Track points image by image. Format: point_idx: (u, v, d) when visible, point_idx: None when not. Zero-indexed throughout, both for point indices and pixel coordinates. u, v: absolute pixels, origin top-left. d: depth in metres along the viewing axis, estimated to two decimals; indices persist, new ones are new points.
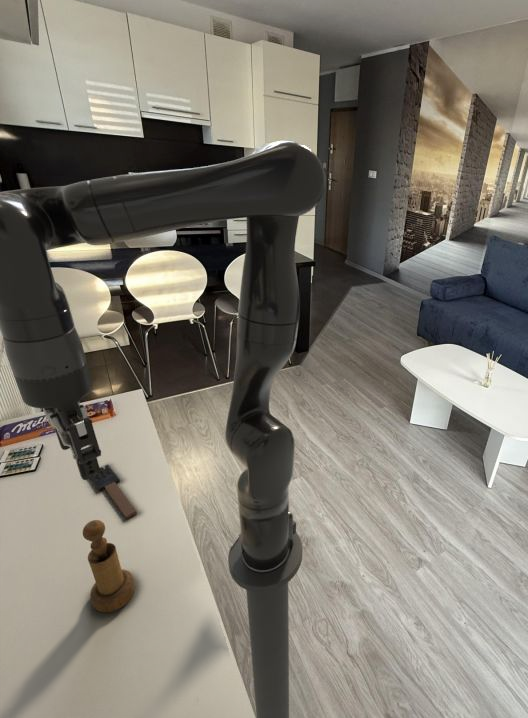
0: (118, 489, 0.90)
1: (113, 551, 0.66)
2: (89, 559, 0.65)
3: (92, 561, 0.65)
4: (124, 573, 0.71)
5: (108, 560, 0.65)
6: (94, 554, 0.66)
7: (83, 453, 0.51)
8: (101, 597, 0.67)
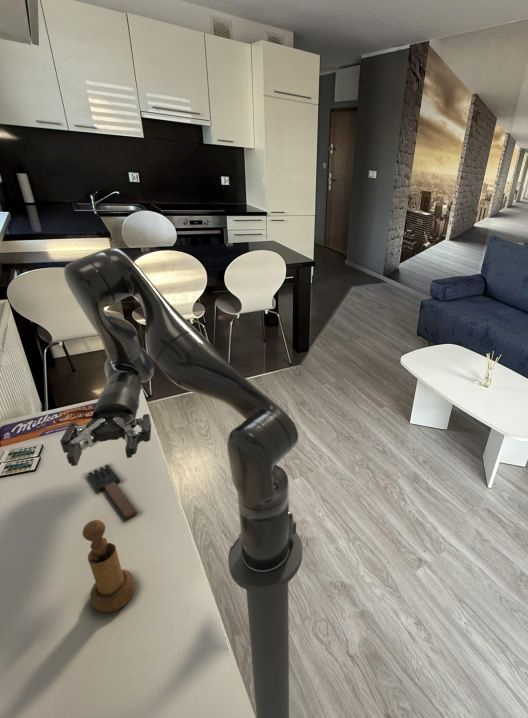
0: (118, 489, 0.90)
1: (113, 551, 0.66)
2: (89, 559, 0.65)
3: (92, 561, 0.65)
4: (124, 573, 0.71)
5: (108, 560, 0.65)
6: (94, 554, 0.66)
7: None
8: (101, 597, 0.67)
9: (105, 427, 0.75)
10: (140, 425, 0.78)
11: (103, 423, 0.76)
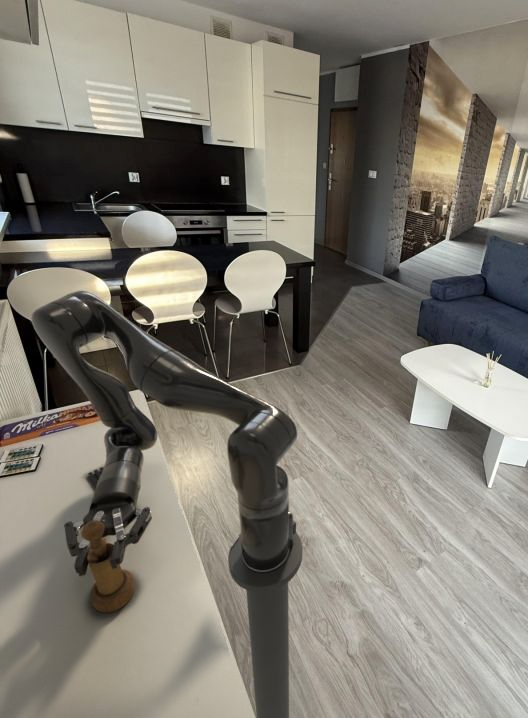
0: None
1: None
2: (89, 559, 0.65)
3: (92, 561, 0.64)
4: (124, 573, 0.71)
5: (108, 560, 0.65)
6: (94, 554, 0.66)
7: None
8: (101, 597, 0.67)
9: (104, 522, 0.70)
10: None
11: (102, 517, 0.70)
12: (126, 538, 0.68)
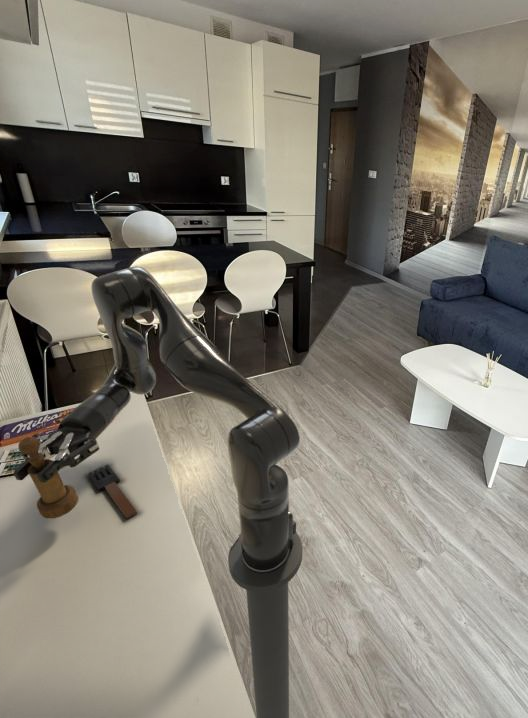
0: (118, 489, 0.90)
1: None
2: (29, 468, 0.75)
3: (30, 471, 0.75)
4: (68, 490, 0.81)
5: None
6: None
7: None
8: (41, 504, 0.78)
9: (58, 441, 0.80)
10: None
11: (58, 437, 0.80)
12: (62, 460, 0.76)
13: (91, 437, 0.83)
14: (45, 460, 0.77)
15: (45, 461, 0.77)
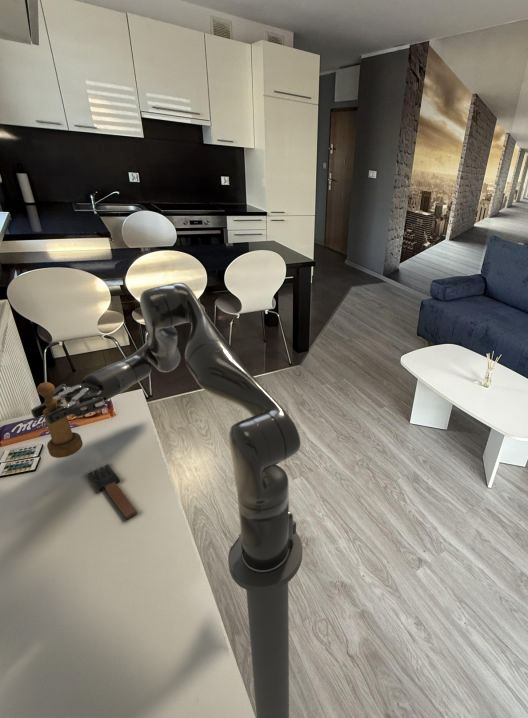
0: (118, 489, 0.90)
1: None
2: (45, 410, 0.88)
3: (45, 412, 0.88)
4: (74, 437, 0.93)
5: None
6: None
7: None
8: (50, 443, 0.90)
9: (75, 393, 0.93)
10: None
11: (77, 389, 0.93)
12: (70, 408, 0.88)
13: (102, 395, 0.95)
14: (59, 406, 0.90)
15: (59, 407, 0.90)
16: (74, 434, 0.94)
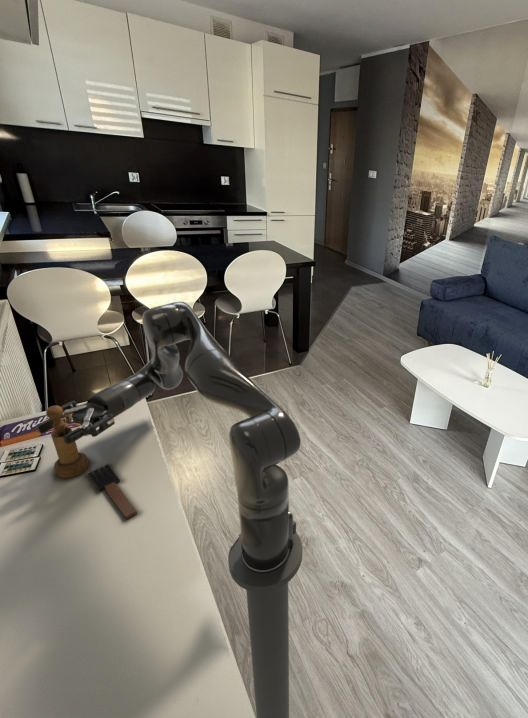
0: (118, 489, 0.90)
1: None
2: (53, 431, 0.91)
3: (53, 434, 0.91)
4: (81, 457, 0.96)
5: (58, 438, 0.90)
6: None
7: None
8: (57, 463, 0.93)
9: (81, 413, 0.95)
10: None
11: (82, 409, 0.96)
12: (88, 428, 0.91)
13: (107, 415, 0.97)
14: (67, 428, 0.93)
15: (67, 428, 0.93)
16: (80, 454, 0.96)
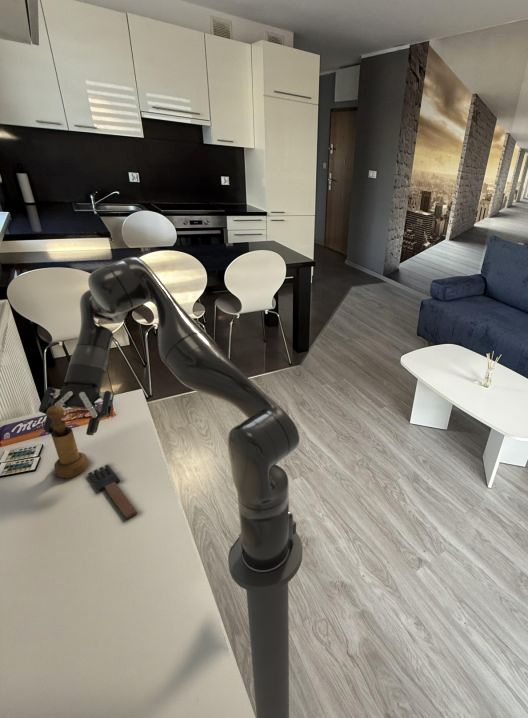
0: (118, 489, 0.90)
1: (67, 434, 0.91)
2: (53, 431, 0.91)
3: (53, 434, 0.91)
4: (81, 457, 0.96)
5: (59, 438, 0.90)
6: None
7: (47, 408, 0.92)
8: (57, 463, 0.93)
9: (74, 400, 0.92)
10: (103, 400, 0.94)
11: (72, 396, 0.92)
12: (99, 414, 0.93)
13: (99, 389, 0.95)
14: (67, 428, 0.93)
15: (67, 428, 0.93)
16: (80, 454, 0.96)
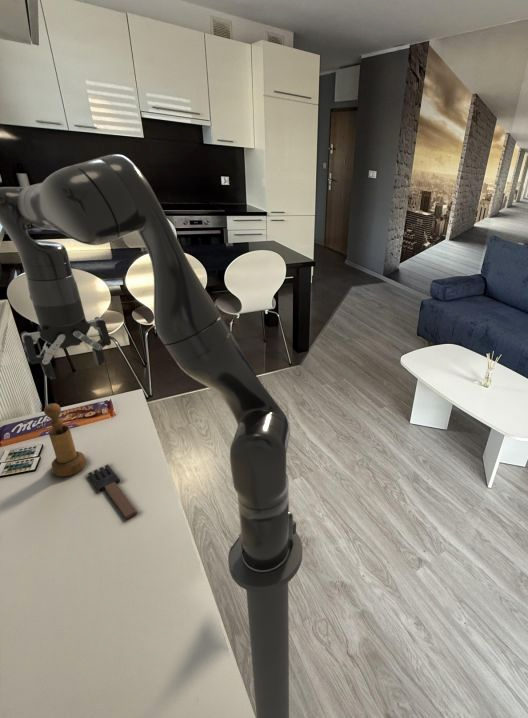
0: (118, 489, 0.90)
1: (64, 432, 0.91)
2: (50, 430, 0.91)
3: (50, 432, 0.91)
4: (78, 455, 0.96)
5: (56, 436, 0.90)
6: None
7: None
8: (54, 462, 0.93)
9: (67, 341, 0.79)
10: None
11: None
12: (102, 345, 0.85)
13: None
14: (64, 426, 0.93)
15: (64, 427, 0.93)
16: (78, 453, 0.97)
